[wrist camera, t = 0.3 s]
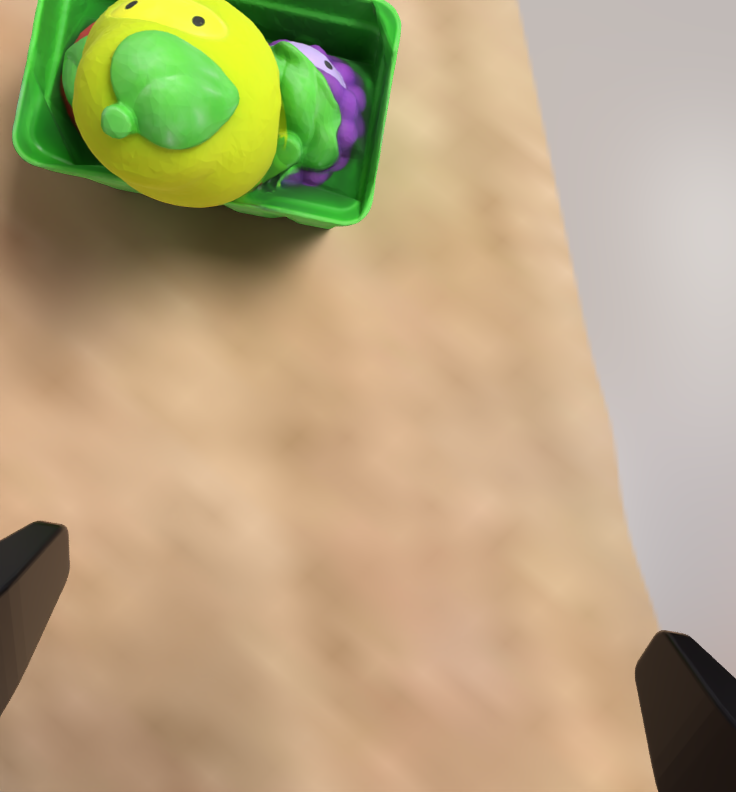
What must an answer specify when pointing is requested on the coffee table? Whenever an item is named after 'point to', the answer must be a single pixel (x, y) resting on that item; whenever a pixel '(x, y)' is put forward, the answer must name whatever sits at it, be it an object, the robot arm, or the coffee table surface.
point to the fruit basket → (214, 101)
